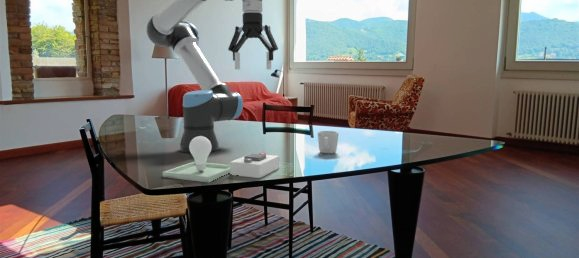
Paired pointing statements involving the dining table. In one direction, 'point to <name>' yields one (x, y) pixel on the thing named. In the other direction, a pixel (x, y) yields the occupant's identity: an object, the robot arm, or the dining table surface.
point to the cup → (328, 141)
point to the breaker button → (255, 157)
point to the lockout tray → (192, 174)
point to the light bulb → (200, 151)
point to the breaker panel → (254, 166)
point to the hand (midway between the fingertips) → (252, 69)
